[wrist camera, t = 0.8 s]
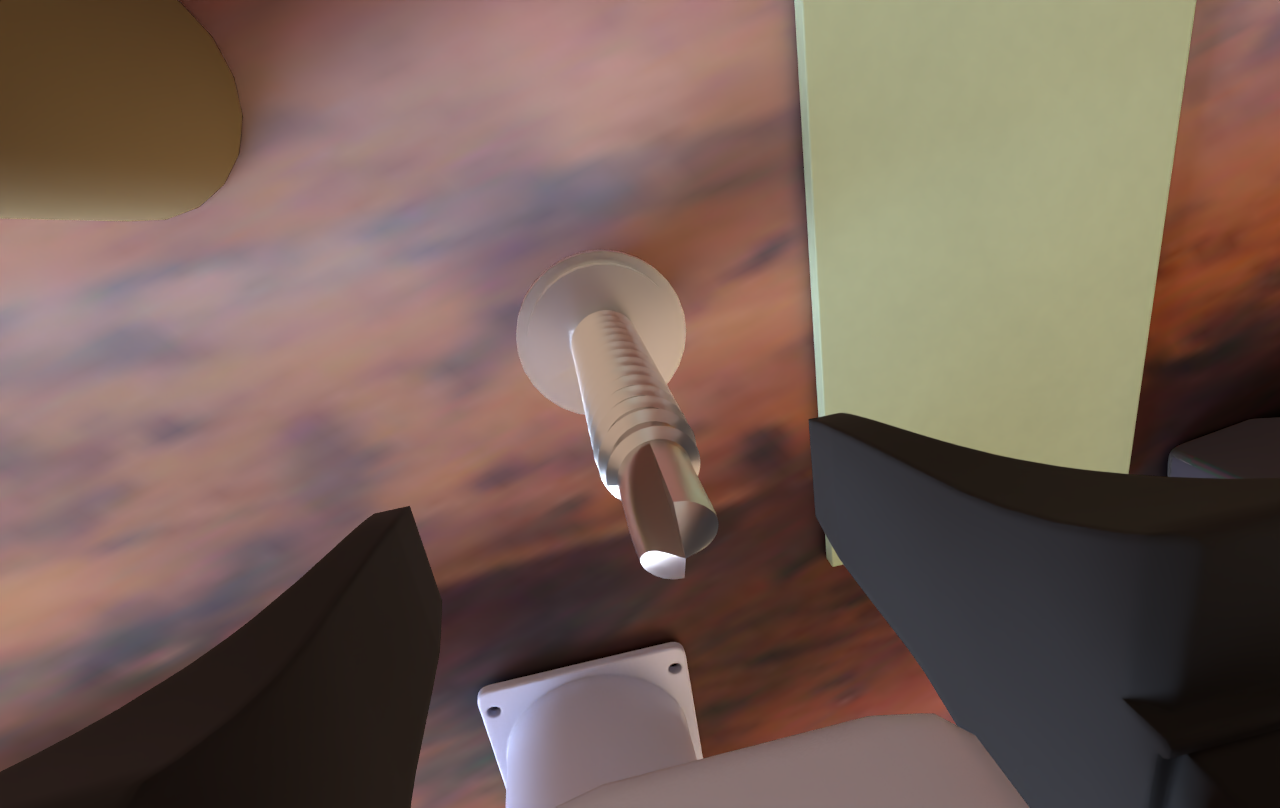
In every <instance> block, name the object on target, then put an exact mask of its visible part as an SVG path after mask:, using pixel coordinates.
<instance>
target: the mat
mask: <svg viewBox="0 0 1280 808" xmlns="http://www.w3.org/2000/svg"><path fill="white" fill-rule="evenodd" d="M794 4H795V22H796V39H797V56H798V73H799V91H800V108H801V125H802V142H803V160H804V177H805V194H806V212H807V229H808V246H809V263H810V281H811V298H812V315H813V333H814V350H815V367H816V384H817V402H818V417H822V416H827V415H831V414H836V413H848V414H853V415H857V416H861V417H865V418H868V419H872V420H875V421H878V422H882V423H885V424H888V425H891V426H895V427H898V428H901V429H904V430H908V431H911V432H914V433H917V434H921V435H924V436H927V437H931V438H934V439H938V440H941V441H945V442H948V443H952V444H956V445H959V446H963V447H967V448H971V449H975V450H979V451H983V452H987V453H991V454H996V455H1000V456H1005V457H1010V458H1014V459H1020V460H1026V461H1031V462H1037V463H1043V464H1049V465H1054V466H1061V467H1068V468H1076V469H1083V470H1092V471H1102V472H1112V473H1122V474H1128V473H1129V466H1130V459H1131V452H1132V445H1133V438H1134V431H1135V424H1136V417H1137V410H1138V403H1139V396H1140V390H1141V383H1142V376H1143V369H1144V362H1145V355H1146V348H1147V341H1148V334H1149V327H1150V320H1151V313H1152V306H1153V299H1154V292H1155V285H1156V278H1157V271H1158V264H1159V257H1160V250H1161V243H1162V237H1163V230H1164V223H1165V216H1166V209H1167V202H1168V195H1169V188H1170V181H1171V174H1172V167H1173V160H1174V153H1175V146H1176V139H1177V132H1178V125H1179V118H1180V111H1181V104H1182V97H1183V90H1184V84H1185V77H1186V70H1187V63H1188V56H1189V49H1190V42H1191V35H1192V28H1193V21H1194V14H1195V7H1196V0H794ZM825 540H826V557H827V560H828V561H829V562H830V564H831V565H832V566H833V567H835V566H839V565H843V563H842V562H841V560H840V559H839V557H838V556H837V554H836V552H835V550H834V549H833V547H832V545H831V543H830V542H829V540H828V538H827V536H826V534H825Z"/></svg>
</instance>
